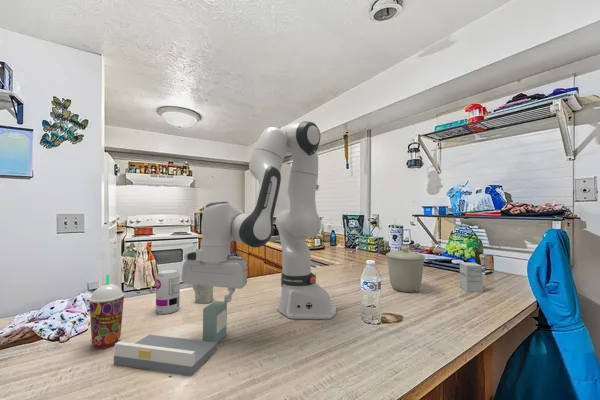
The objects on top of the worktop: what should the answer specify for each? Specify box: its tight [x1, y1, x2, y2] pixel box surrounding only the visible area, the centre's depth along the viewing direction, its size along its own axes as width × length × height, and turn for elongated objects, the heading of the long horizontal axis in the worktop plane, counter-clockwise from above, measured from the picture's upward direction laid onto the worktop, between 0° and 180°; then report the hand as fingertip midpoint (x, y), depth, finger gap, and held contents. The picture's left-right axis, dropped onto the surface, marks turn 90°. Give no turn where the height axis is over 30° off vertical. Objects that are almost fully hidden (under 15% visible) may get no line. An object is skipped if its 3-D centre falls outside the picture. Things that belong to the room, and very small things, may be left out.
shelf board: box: [113, 334, 218, 377], centre depth 72 cm, size 22×12×5 cm, turn 78°
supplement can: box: [155, 268, 181, 315], centre depth 105 cm, size 8×8×15 cm
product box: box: [202, 300, 228, 344], centre depth 83 cm, size 4×7×10 cm, turn 168°
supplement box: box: [459, 261, 484, 293], centre depth 132 cm, size 7×7×13 cm
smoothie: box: [89, 274, 125, 349], centre depth 79 cm, size 8×8×20 cm
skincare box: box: [194, 285, 214, 304], centre depth 115 cm, size 6×4×12 cm
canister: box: [385, 245, 426, 293], centre depth 133 cm, size 18×18×21 cm
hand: (213, 300), depth 83 cm, fingers open, 8 cm apart
